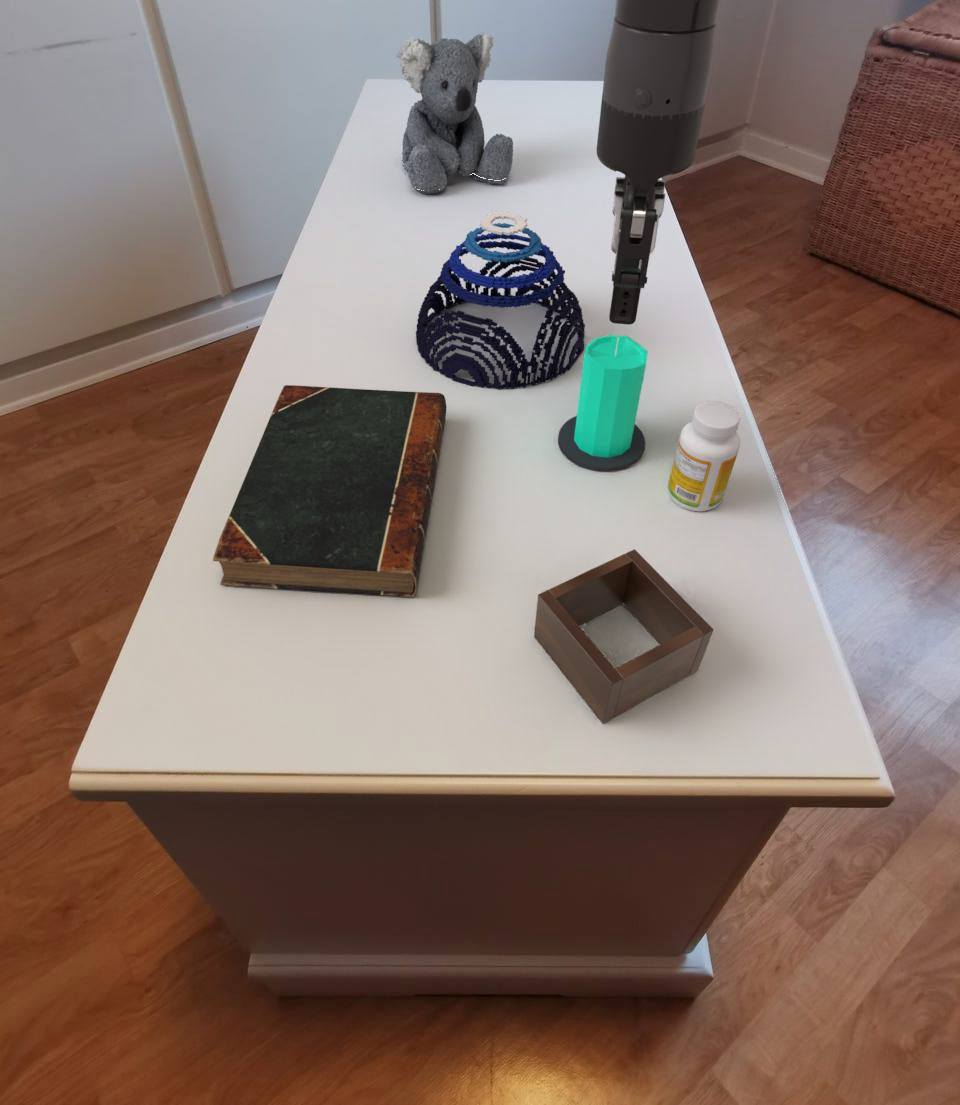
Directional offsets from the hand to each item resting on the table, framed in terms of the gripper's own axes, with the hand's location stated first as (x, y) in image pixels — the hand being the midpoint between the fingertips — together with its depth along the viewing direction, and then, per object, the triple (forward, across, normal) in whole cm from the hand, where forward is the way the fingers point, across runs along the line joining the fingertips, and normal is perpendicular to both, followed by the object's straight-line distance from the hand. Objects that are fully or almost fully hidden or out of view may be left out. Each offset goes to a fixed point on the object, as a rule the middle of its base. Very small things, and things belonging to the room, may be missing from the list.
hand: (623, 296), depth 68 cm
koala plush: (+17, +66, +29) cm, 74 cm away
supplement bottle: (+17, -6, -9) cm, 20 cm away
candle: (+16, 0, 0) cm, 16 cm away
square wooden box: (+17, -26, -3) cm, 31 cm away
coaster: (+17, 0, 0) cm, 17 cm away
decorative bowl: (+17, +18, +14) cm, 28 cm away
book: (+17, -12, +24) cm, 32 cm away
